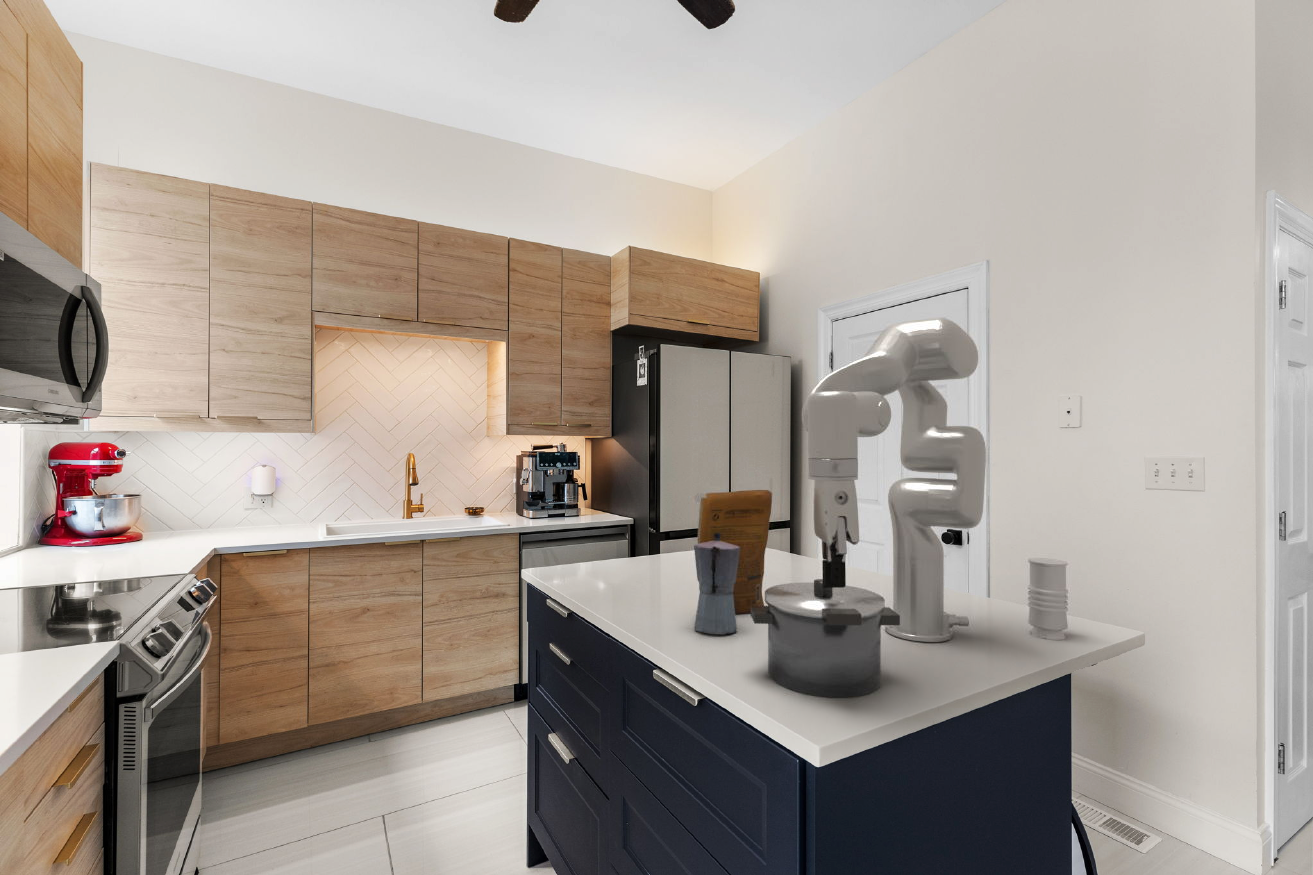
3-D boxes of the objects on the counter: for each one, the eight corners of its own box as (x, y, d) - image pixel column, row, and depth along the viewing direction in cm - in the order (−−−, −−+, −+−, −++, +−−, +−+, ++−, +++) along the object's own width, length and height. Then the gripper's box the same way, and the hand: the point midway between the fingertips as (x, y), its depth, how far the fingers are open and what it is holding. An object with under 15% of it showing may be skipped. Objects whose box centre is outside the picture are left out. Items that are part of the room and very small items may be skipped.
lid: (757, 588, 112) (757, 568, 112) (863, 589, 112) (863, 569, 112) (777, 624, 90) (778, 599, 90) (910, 625, 90) (910, 601, 90)
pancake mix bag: (778, 613, 140) (779, 490, 141) (700, 619, 135) (701, 491, 135) (765, 605, 147) (765, 488, 147) (690, 611, 141) (690, 489, 141)
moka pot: (738, 620, 134) (738, 528, 134) (741, 643, 119) (741, 539, 119) (694, 619, 135) (695, 528, 135) (691, 641, 120) (692, 538, 120)
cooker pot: (873, 654, 113) (873, 588, 113) (915, 699, 93) (915, 619, 93) (744, 652, 113) (745, 587, 114) (759, 696, 94) (760, 617, 94)
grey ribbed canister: (1068, 634, 126) (1068, 560, 126) (1067, 642, 120) (1067, 565, 120) (1029, 627, 130) (1029, 556, 130) (1026, 636, 124) (1026, 561, 124)
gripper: (872, 472, 89) (873, 599, 89) (843, 467, 104) (844, 575, 104) (820, 473, 90) (821, 599, 90) (799, 467, 104) (800, 575, 105)
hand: (834, 585), depth 97 cm, fingers closed
